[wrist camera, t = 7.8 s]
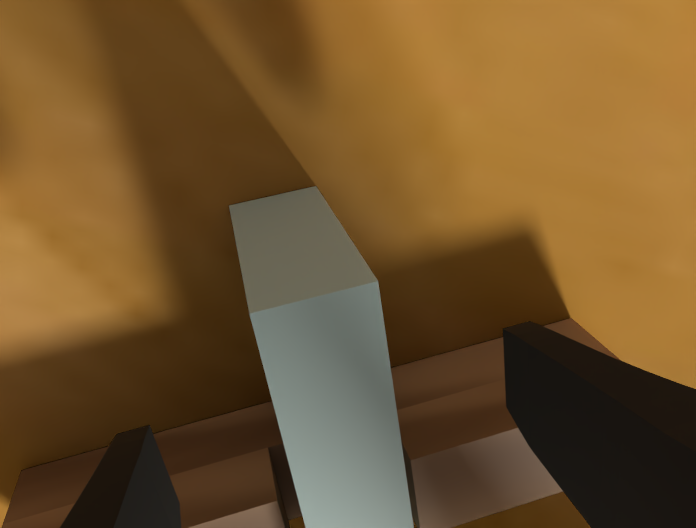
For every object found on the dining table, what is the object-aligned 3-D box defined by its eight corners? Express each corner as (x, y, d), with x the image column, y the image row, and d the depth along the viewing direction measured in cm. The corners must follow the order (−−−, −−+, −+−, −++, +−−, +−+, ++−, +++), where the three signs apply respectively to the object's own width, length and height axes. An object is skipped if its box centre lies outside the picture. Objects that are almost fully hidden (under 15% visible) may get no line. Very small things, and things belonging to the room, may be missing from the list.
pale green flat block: (386, 570, 23) (444, 740, 18) (327, 589, 23) (368, 768, 18) (316, 185, 16) (378, 281, 11) (228, 205, 16) (249, 313, 11)
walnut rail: (569, 387, 22) (644, 464, 18) (58, 539, 19) (28, 665, 15) (571, 317, 20) (652, 387, 17) (21, 470, 18) (-21, 590, 14)
